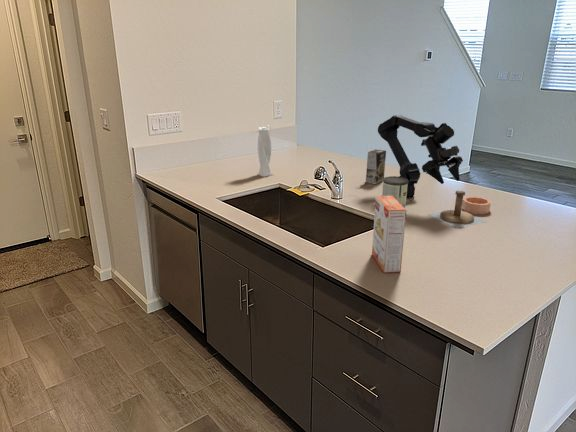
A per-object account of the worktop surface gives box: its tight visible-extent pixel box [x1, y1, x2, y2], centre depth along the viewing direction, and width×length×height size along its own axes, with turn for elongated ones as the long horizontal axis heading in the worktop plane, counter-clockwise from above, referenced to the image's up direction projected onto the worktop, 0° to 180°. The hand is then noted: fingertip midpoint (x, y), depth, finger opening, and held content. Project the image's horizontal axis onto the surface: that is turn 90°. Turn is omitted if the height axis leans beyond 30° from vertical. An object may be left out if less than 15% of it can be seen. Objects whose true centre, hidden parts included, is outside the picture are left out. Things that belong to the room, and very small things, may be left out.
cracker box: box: [371, 195, 407, 274], centre depth 142 cm, size 14×6×21 cm, turn 5°
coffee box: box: [365, 149, 387, 185], centre depth 233 cm, size 9×6×16 cm
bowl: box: [461, 196, 492, 215], centre depth 193 cm, size 11×11×4 cm
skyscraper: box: [256, 124, 274, 178], centre depth 242 cm, size 8×8×28 cm
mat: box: [428, 211, 487, 229], centre depth 184 cm, size 16×16×1 cm
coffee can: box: [381, 175, 408, 209], centre depth 190 cm, size 10×10×14 cm
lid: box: [439, 190, 475, 224], centre depth 182 cm, size 13×13×11 cm
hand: (450, 182), depth 187 cm, fingers open, 9 cm apart
